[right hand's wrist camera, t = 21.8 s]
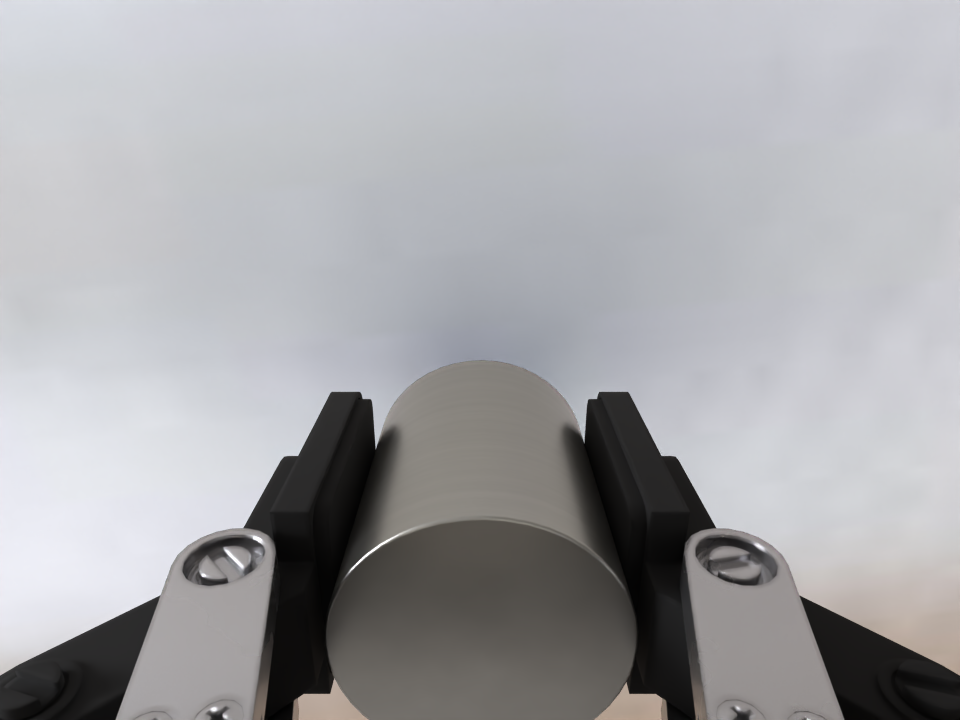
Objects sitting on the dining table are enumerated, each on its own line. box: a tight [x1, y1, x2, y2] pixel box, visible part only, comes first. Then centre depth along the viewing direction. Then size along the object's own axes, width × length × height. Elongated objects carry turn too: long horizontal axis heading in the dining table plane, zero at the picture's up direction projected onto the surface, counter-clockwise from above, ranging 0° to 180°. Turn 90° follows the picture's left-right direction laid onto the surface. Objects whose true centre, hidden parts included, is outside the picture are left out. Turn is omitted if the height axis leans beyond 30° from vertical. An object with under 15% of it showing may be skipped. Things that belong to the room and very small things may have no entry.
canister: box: [324, 360, 639, 720], centre depth 11 cm, size 4×4×5 cm
